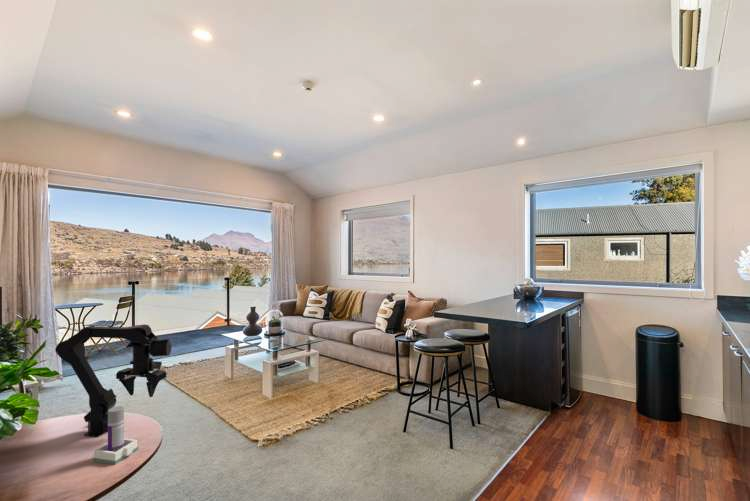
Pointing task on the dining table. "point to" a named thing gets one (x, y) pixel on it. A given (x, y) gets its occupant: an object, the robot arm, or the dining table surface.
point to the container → (115, 428)
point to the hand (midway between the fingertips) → (141, 396)
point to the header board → (115, 457)
